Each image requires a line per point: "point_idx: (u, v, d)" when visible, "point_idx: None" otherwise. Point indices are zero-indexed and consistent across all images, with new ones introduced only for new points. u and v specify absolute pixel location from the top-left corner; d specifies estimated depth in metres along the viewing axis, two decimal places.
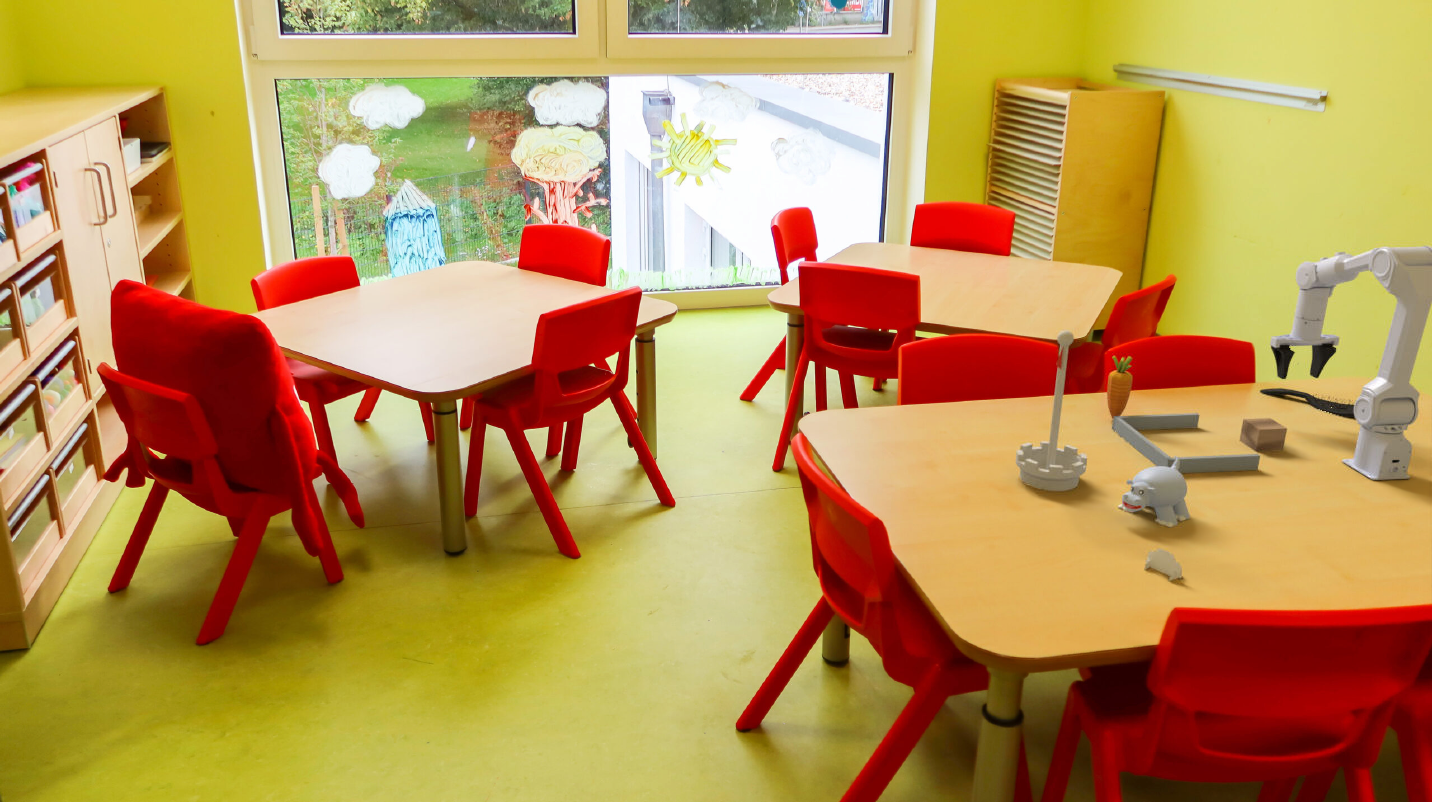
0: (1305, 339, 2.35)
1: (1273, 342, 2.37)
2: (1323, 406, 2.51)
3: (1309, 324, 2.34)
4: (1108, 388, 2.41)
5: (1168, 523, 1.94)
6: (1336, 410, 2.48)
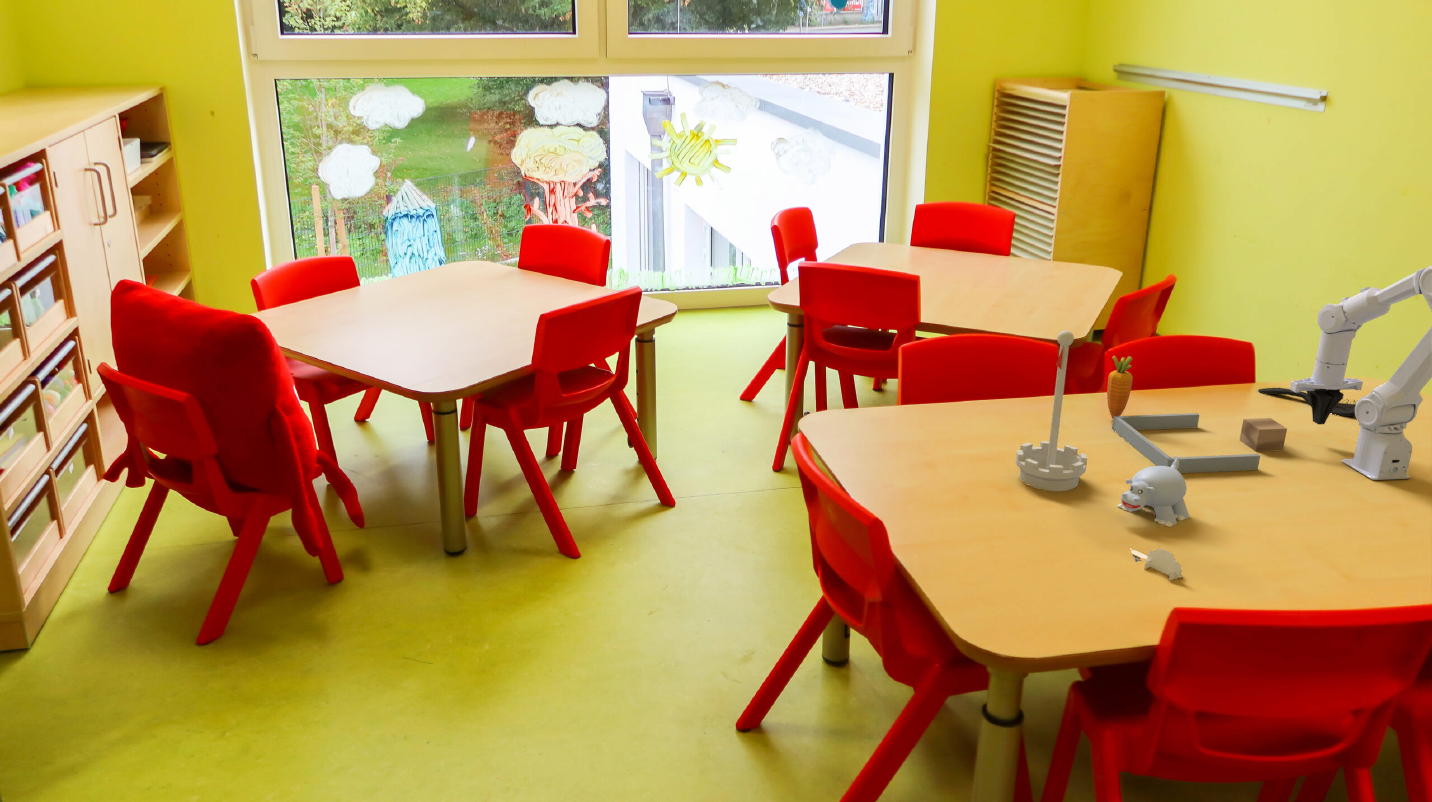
0: (1327, 384, 2.24)
1: (1293, 386, 2.26)
2: None
3: (1331, 369, 2.23)
4: (1108, 388, 2.41)
5: (1167, 522, 1.95)
6: (1334, 409, 2.49)
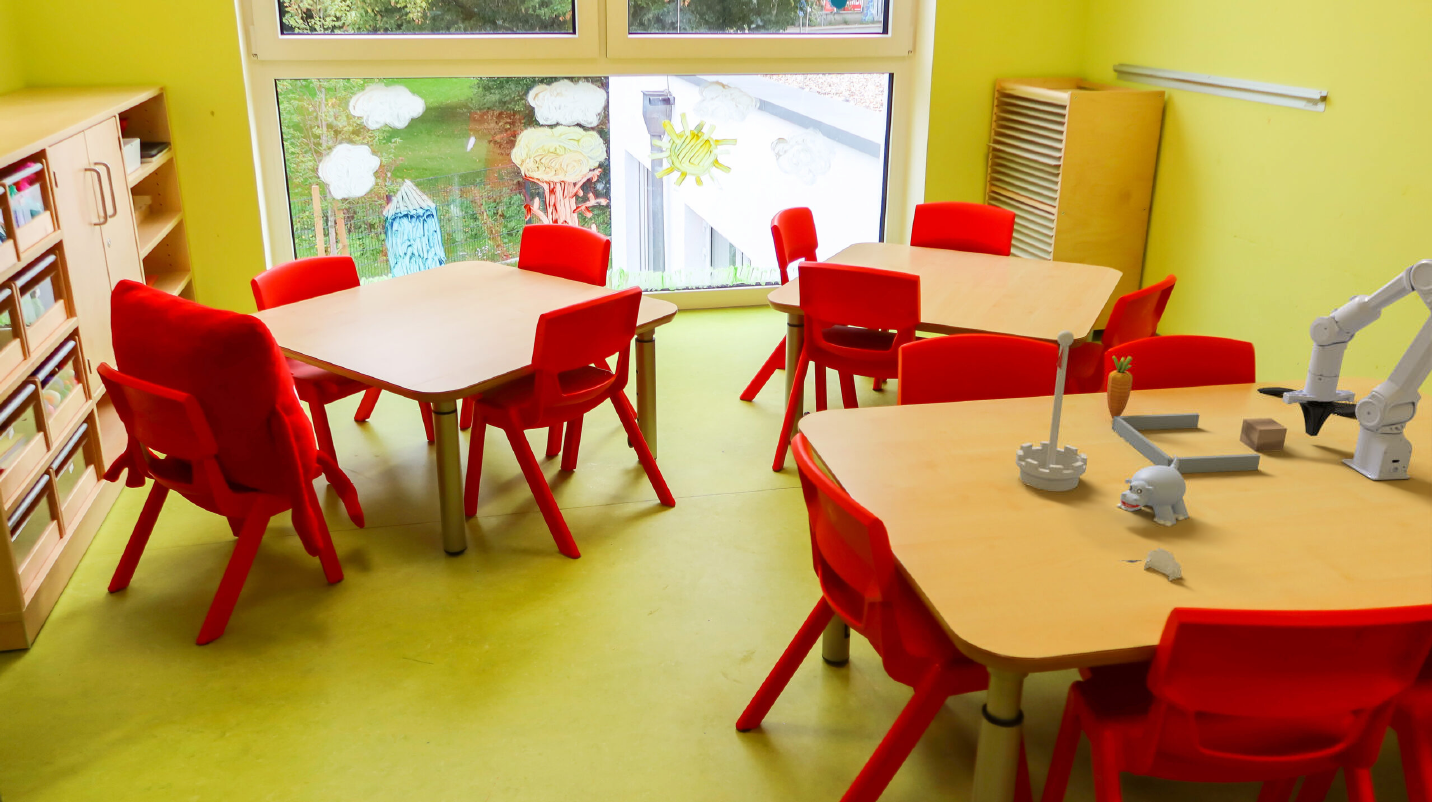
0: (1319, 396, 2.25)
1: (1285, 398, 2.27)
2: None
3: (1323, 380, 2.24)
4: (1108, 388, 2.41)
5: (1166, 522, 1.95)
6: None
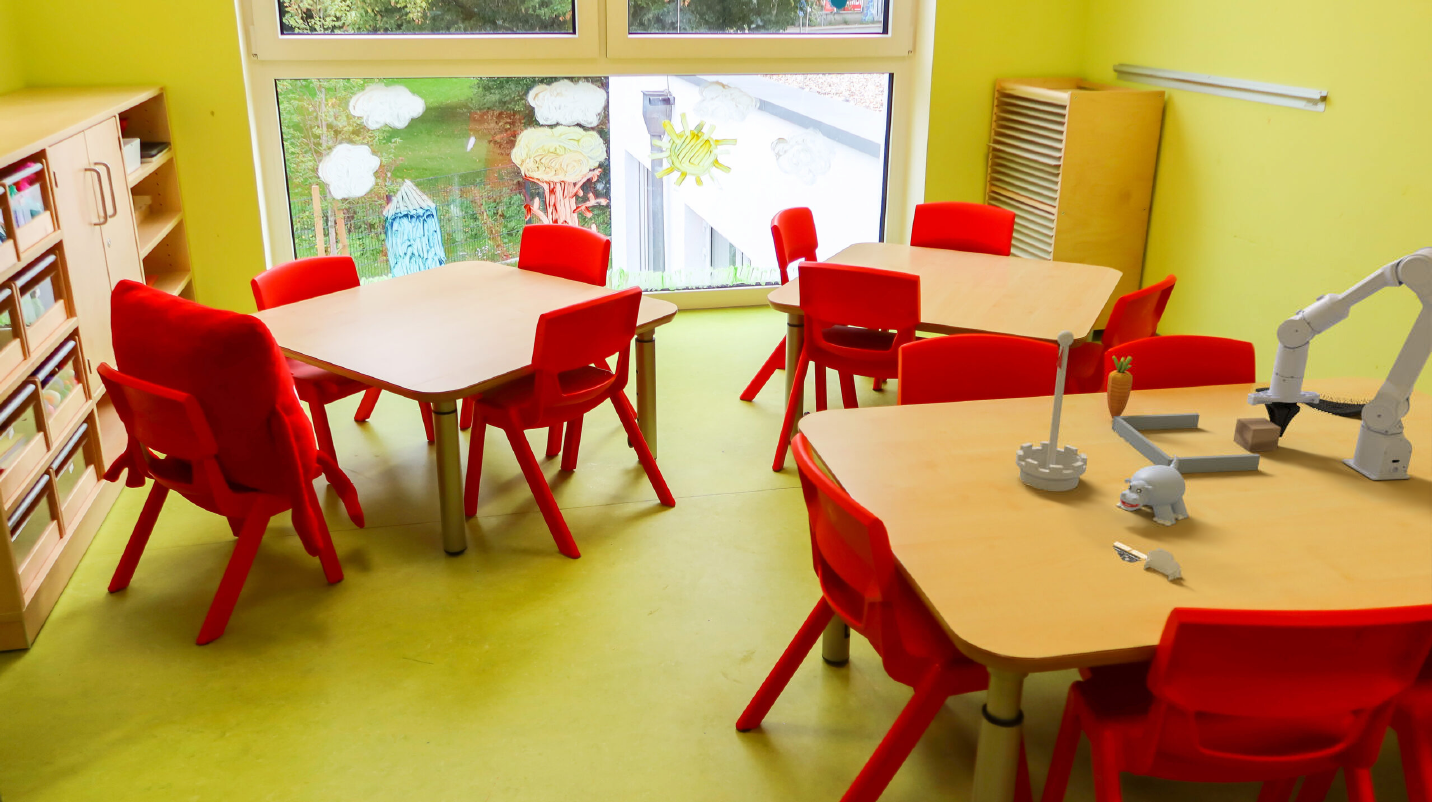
0: (1283, 397, 2.24)
1: (1250, 399, 2.26)
2: (1318, 405, 2.52)
3: (1288, 382, 2.23)
4: (1108, 388, 2.41)
5: (1166, 522, 1.95)
6: (1331, 409, 2.49)
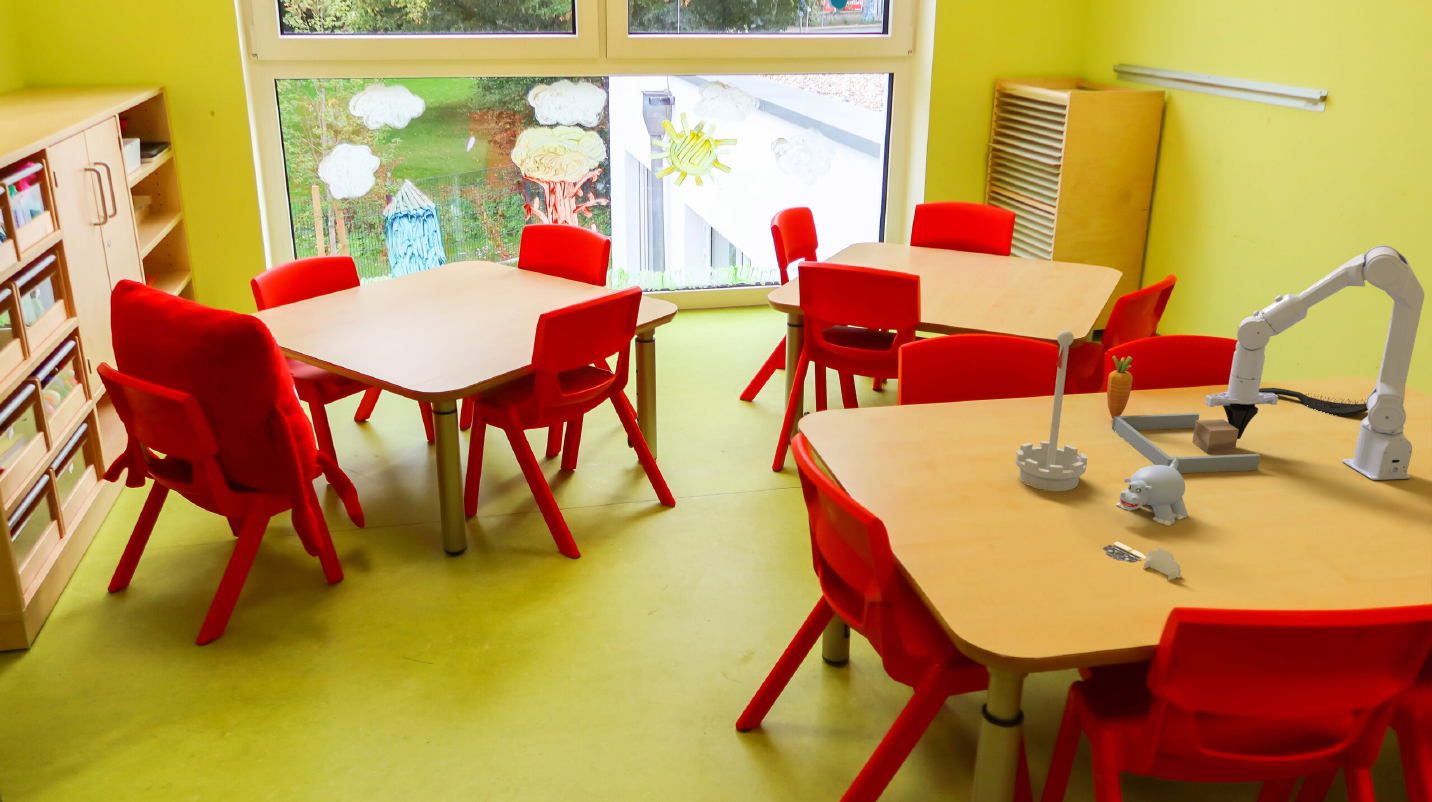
0: (1241, 399, 2.23)
1: (1207, 401, 2.25)
2: (1316, 405, 2.51)
3: (1245, 383, 2.22)
4: (1108, 388, 2.41)
5: (1165, 521, 1.95)
6: (1329, 409, 2.49)
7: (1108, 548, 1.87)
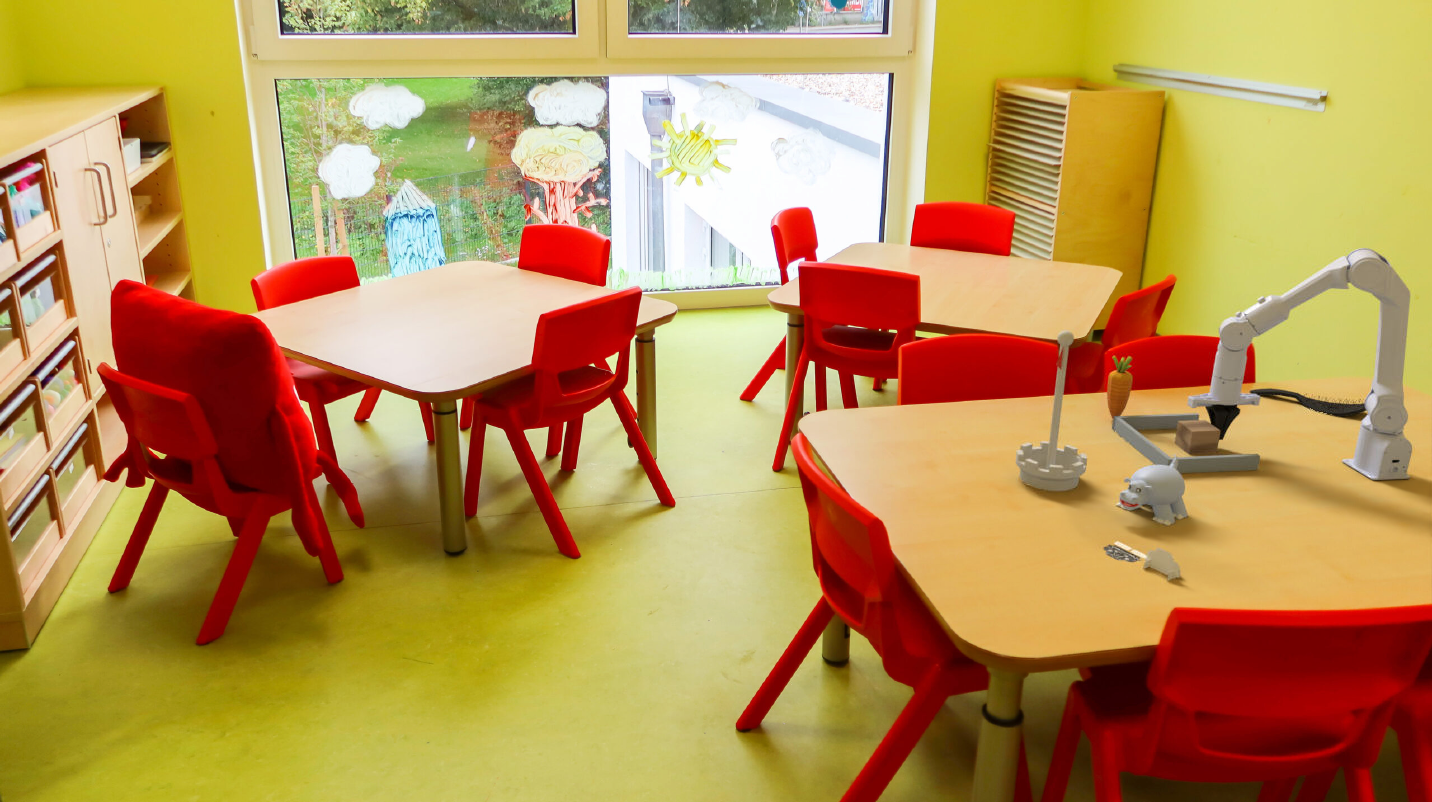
0: (1223, 399, 2.23)
1: (1190, 402, 2.25)
2: (1314, 406, 2.51)
3: (1227, 384, 2.22)
4: (1108, 388, 2.41)
5: (1165, 521, 1.95)
6: (1328, 410, 2.49)
7: (1108, 548, 1.87)
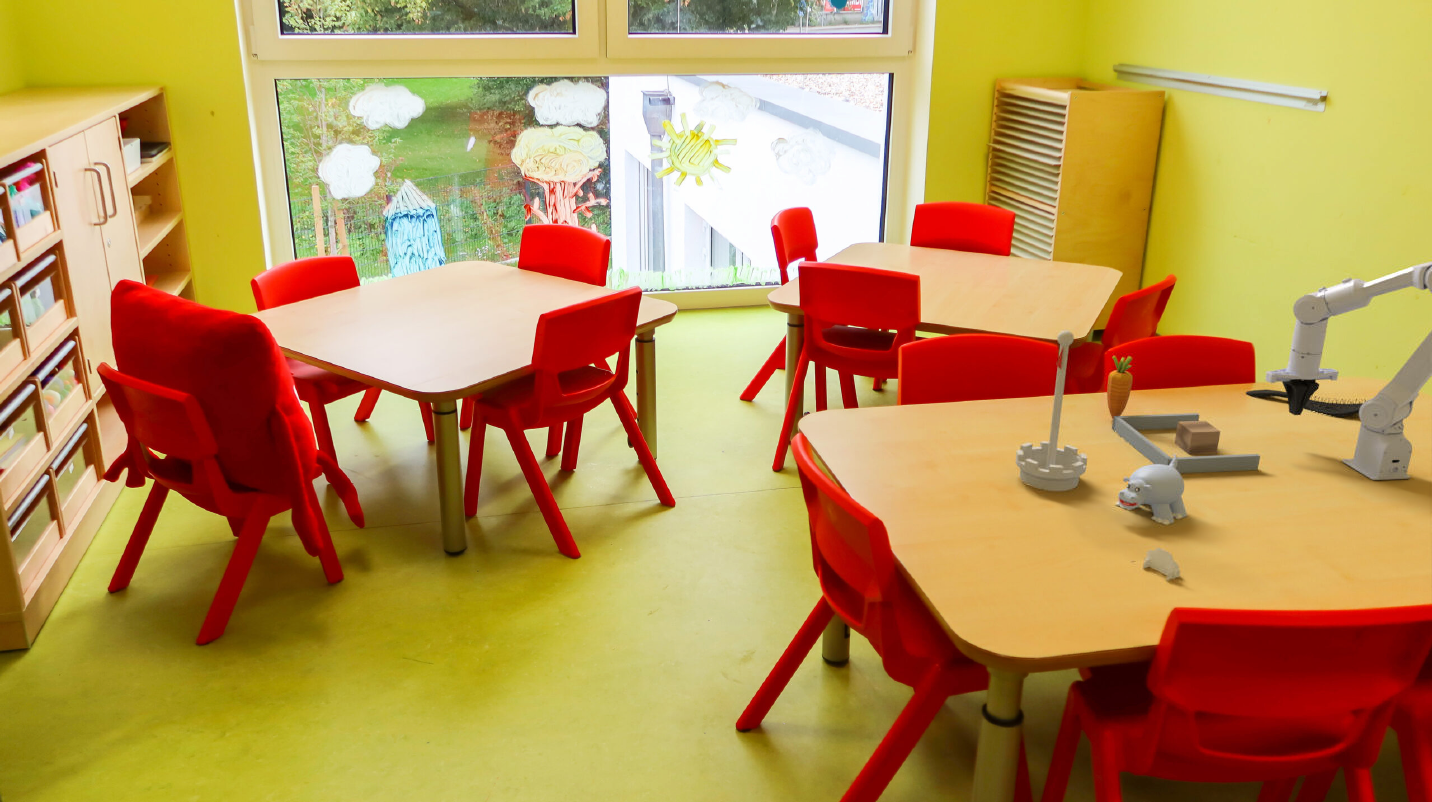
0: (1302, 374, 2.23)
1: (1268, 377, 2.25)
2: (1312, 406, 2.51)
3: (1306, 358, 2.22)
4: (1108, 388, 2.41)
5: (1164, 521, 1.95)
6: (1326, 410, 2.49)
7: None
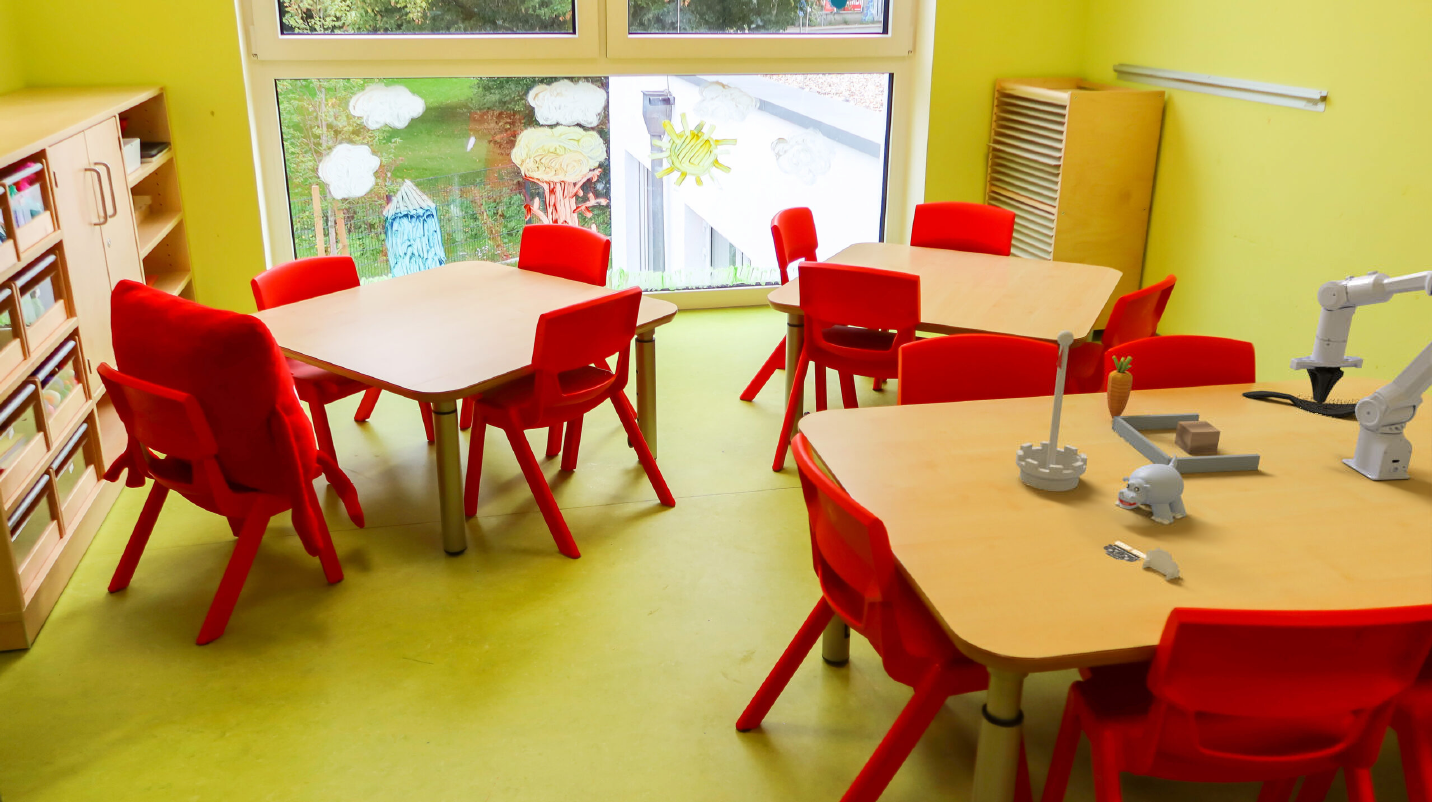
0: (1327, 361, 2.22)
1: (1293, 364, 2.25)
2: (1309, 407, 2.50)
3: (1331, 346, 2.21)
4: (1108, 388, 2.41)
5: (1164, 520, 1.95)
6: (1323, 411, 2.48)
7: (1108, 547, 1.87)
